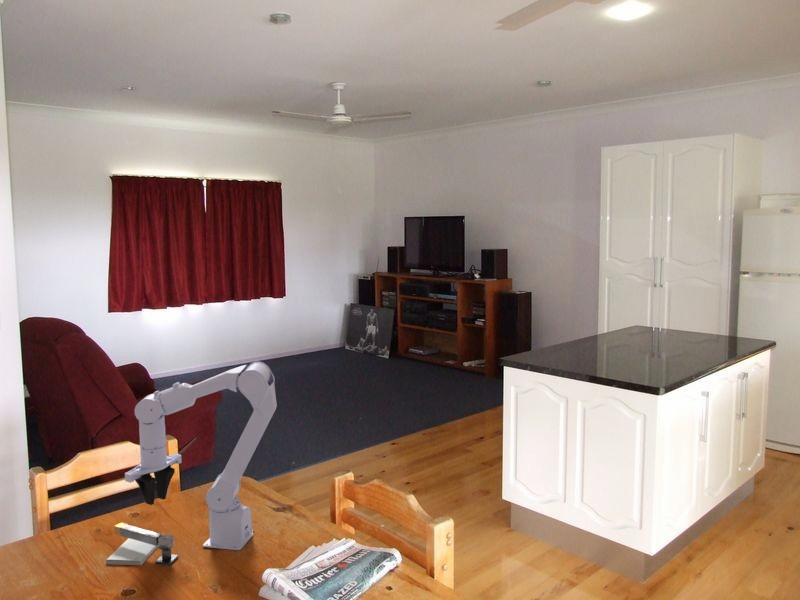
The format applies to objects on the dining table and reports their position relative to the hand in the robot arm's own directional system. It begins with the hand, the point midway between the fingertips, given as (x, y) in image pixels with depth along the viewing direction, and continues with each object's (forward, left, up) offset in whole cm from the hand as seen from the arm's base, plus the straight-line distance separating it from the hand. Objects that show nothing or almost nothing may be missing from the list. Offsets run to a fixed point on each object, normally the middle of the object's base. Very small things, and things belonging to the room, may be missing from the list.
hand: (155, 500), depth 154 cm
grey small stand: (-7, +7, -10) cm, 14 cm away
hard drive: (+3, +4, -11) cm, 12 cm away
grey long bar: (0, +6, -7) cm, 9 cm away
